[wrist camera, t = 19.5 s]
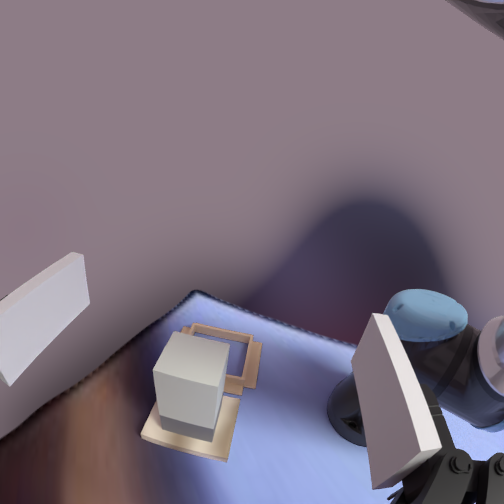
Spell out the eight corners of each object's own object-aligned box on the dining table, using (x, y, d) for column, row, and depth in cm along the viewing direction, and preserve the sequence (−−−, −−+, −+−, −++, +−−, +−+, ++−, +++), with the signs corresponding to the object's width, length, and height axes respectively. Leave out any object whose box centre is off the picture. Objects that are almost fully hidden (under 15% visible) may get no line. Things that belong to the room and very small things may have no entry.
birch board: (239, 404, 39) (240, 399, 38) (226, 462, 29) (227, 458, 28) (166, 386, 40) (165, 380, 39) (142, 438, 29) (140, 433, 29)
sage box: (221, 405, 37) (230, 343, 32) (212, 442, 30) (218, 387, 25) (176, 394, 37) (174, 330, 32) (162, 429, 31) (152, 369, 26)
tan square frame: (262, 337, 56) (264, 331, 55) (253, 397, 41) (255, 391, 40) (186, 321, 56) (187, 314, 56) (158, 375, 41) (157, 368, 41)
